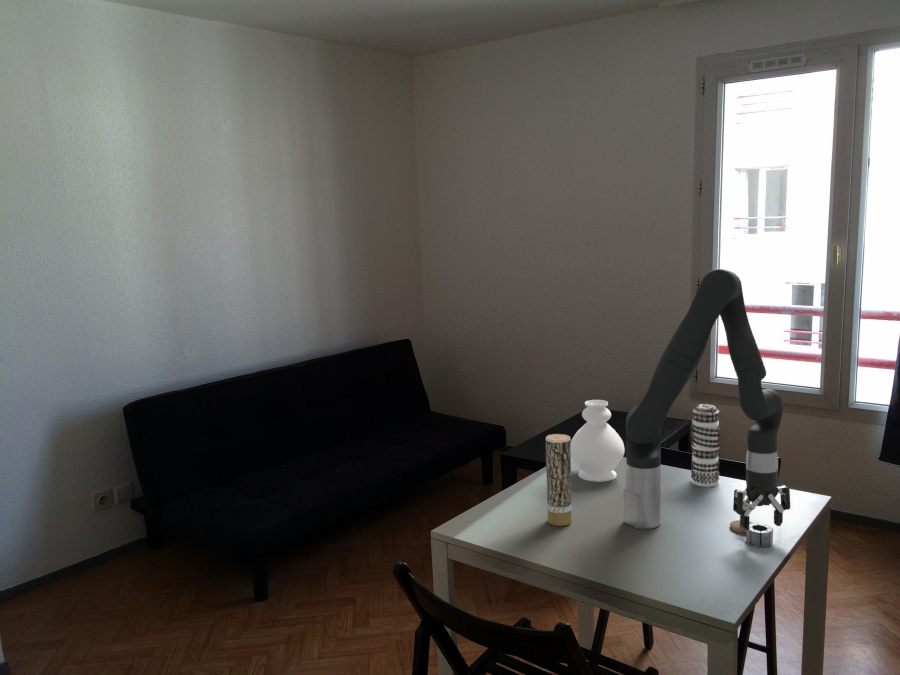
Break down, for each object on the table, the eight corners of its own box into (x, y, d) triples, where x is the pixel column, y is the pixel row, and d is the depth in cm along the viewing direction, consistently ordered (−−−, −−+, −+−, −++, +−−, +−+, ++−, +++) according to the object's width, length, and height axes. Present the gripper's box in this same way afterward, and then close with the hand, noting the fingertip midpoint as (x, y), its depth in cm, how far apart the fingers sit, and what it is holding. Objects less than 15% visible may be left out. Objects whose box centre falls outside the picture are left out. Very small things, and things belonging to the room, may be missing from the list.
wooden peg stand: (744, 536, 193) (744, 507, 192) (724, 527, 199) (724, 499, 198) (763, 530, 196) (764, 502, 194) (743, 521, 202) (743, 494, 201)
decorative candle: (683, 479, 236) (684, 404, 232) (708, 475, 239) (708, 401, 235) (701, 488, 228) (702, 411, 224) (726, 484, 230) (727, 407, 226)
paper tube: (555, 515, 212) (553, 432, 208) (576, 520, 208) (574, 436, 204) (543, 523, 207) (540, 438, 203) (564, 529, 202) (562, 442, 199)
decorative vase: (581, 463, 256) (580, 394, 252) (631, 470, 247) (631, 398, 243) (562, 479, 241) (560, 406, 237) (614, 487, 232) (613, 411, 228)
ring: (767, 549, 185) (768, 534, 184) (743, 543, 189) (743, 529, 188) (774, 541, 189) (775, 526, 189) (751, 535, 193) (751, 521, 193)
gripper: (780, 459, 191) (779, 518, 193) (728, 464, 189) (728, 523, 192) (796, 468, 183) (795, 529, 186) (742, 474, 182) (742, 535, 184)
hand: (761, 526), depth 189 cm, fingers open, 8 cm apart
